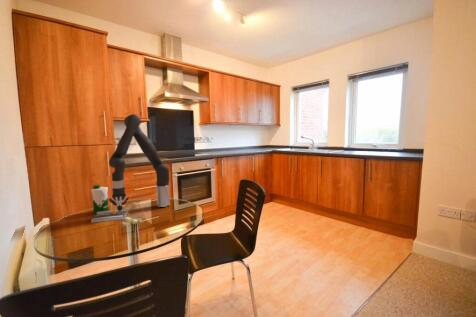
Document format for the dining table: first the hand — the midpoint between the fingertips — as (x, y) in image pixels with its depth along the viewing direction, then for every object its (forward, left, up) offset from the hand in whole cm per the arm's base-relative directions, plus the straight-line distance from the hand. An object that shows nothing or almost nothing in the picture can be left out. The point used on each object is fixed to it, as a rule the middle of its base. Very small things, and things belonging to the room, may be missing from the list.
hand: (120, 210), depth 149 cm
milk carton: (+15, -13, -4) cm, 20 cm away
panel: (+6, 0, -4) cm, 7 cm away
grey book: (+6, 0, -3) cm, 7 cm away
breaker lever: (+4, 0, -2) cm, 4 cm away
